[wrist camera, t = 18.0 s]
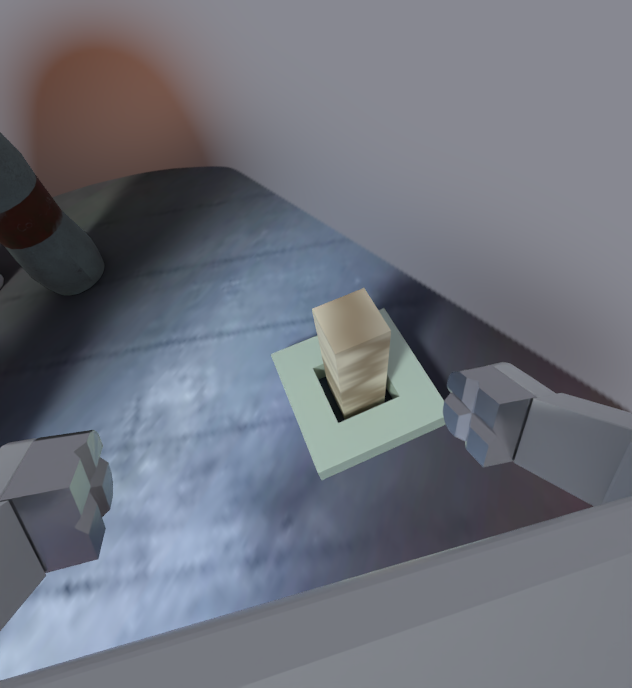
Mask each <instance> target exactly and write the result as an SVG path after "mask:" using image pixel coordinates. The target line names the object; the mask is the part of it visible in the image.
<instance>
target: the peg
mask: <svg viewBox="0 0 632 688" xmlns="http://www.w3.org/2000/svg"><path fill="white" fill-rule="evenodd" d="M312 312H313V317H314V321H315V326H316V331H317V336H318V340H319V345H320V350H321V355H322V359H323V364H324V369H325V374H326V378H327V383H328V386H329V388H330V390H331V392H332V395H333V397H334V399H335V401H336V403H337V405H338V407H339V409H340V411H341V413H342V416H343V418H344V420H347V419H349V418H351V417H353V416H356V415H358V414H360V413H363V412H365V411H367V410H370V409H372V408H374V407H376V406H379V405H381V404H383V403H384V401H385V390H386V380H387V370H388V359H389V349H390V338H391V330H390V328H389V326H388V325H387V323H386V322H385V320H384V319H383V317H382V315H381V314H380V312H379V311H378V309H377V307H376V306H375V304H374V303H373V301H372V300H371V298H370V296H369V295H368V293H367V292H366V290H365V289H364V288H363V289H360V290H358V291H355V292H353V293H350V294H348V295H345V296H343V297H340V298H338V299H335V300H333V301H330V302H328V303H326V304H323V305H321V306H318V307H316V308H313V309H312Z"/></svg>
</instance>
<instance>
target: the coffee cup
mask: <svg viewBox="0 0 632 688" xmlns="http://www.w3.org/2000/svg"><path fill="white" fill-rule="evenodd" d="M3 280H4V278H3V277H2V275H1V274H0V289H1V287H2V286H3Z"/></svg>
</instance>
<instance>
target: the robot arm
mask: <svg viewBox="0 0 632 688" xmlns="http://www.w3.org/2000/svg"><path fill="white" fill-rule="evenodd" d="M447 388H448V389H449V391H450V394H449V396H448V397H447V398H446V399H445V401H444V405H443V416H444V421H445V424H446V426H447V428H448V429H449V431H450V432H451V433H452V434H453V435H454V436H455V437H457V438H459V439H461V440H464V441H466V449H467V450H468V452H469V453H470V454H471V455H472V456H473V457H474V458H475V459H476V460H477V461H478V462H479V463H480V464H481V465H482V467H487V466H492V465H496V464H501V463H506V462H511V461H514V463H515V464H517V465H519V466H521V467H523V468H525V469H526V470H528V471H530V472H532V473H534V474H536V475H537V476H539V477H541V478H543V479H545V480H547V481H548V482H550V483H552V484H554V485H556V486H558V487H559V488H561V489H563V490H565V491H567V492H569V493H570V494H572V495H574V496H576V497H578V498H580V499H582V500H583V501H585V502H587V503H589V504H591V505H593V506H594V507H591V508H588V509H585V510H581V511H578V512H574V513H571V514H567V515H564V516H561V517H557V518H554V519H550V520H547V521H544V522H540V523H537V524H533V525H530V526H527V527H523V528H520V529H516V530H513V531H510V532H506V533H503V534H499V535H496V536H493V537H489V538H486V539H483V540H479V541H476V542H472V543H469V544H466V545H462V546H459V547H455V548H452V549H449V550H445V551H442V552H438V553H435V554H431V555H428V556H425V557H421V558H418V559H414V560H411V561H407V562H404V563H401V564H397V565H394V566H390V567H387V568H384V569H380V570H377V571H373V572H370V573H366V574H363V575H360V576H356V577H353V578H349V579H346V580H342V581H339V582H336V583H332V584H329V585H325V586H322V587H319V588H315V589H312V590H308V591H305V592H301V593H298V594H295V595H291V596H288V597H284V598H281V599H278V600H274V601H271V602H267V603H264V604H260V605H257V606H254V607H250V608H247V609H243V610H240V611H237V612H233V613H230V614H226V615H223V616H220V617H216V618H213V619H209V620H206V621H202V622H199V623H196V624H192V625H189V626H185V627H182V628H179V629H175V630H172V631H168V632H165V633H161V634H158V635H155V636H151V637H148V638H144V639H141V640H138V641H134V642H131V643H127V644H124V645H121V646H117V647H114V648H110V649H107V650H103V651H100V652H97V653H93V654H90V655H86V656H83V657H80V658H76V659H73V660H69V661H66V662H63V663H59V664H56V665H52V666H49V667H45V668H42V669H39V670H35V671H32V672H28V673H25V674H22V675H18V676H15V677H11V678H8V679H5V680H1V681H0V688H632V413H629V412H626V411H622V410H619V409H616V408H612V407H609V406H605V405H602V404H598V403H595V402H591V401H588V400H584V399H581V398H577V397H574V396H571V395H567V394H564V393H559V394H556V393H554V392H553V391H551V390H550V389H548V388H547V387H545V386H544V385H542V384H541V383H539V382H538V381H536V380H535V379H533V378H532V377H530V376H529V375H527V374H526V373H524V372H522V371H521V370H519V369H518V368H516V367H515V366H513V365H512V364H510V363H505V362H502V363H497V364H492V365H487V366H484V367H478V368H472V369H467V370H461V371H455V372H452V373H451V375H450V376H449V378H448V383H447ZM102 447H103V445H102V442H101V439H100V437H99V434H98V433H97V432H96V431H95V430H90V431H83V432H76V433H69V434H62V435H55V436H48V437H41V438H38V439H35V438H34V439H28V440H22V441H16V442H9V443H7V444H5V445H3V446H2V447H1V448H0V631H1V629H2V628H3V627H4V626H5V625H6V623H7V622H8V621H9V620H10V619H11V617H12V616H13V615H14V614H15V613H16V611H17V610H18V609H19V608H20V607H21V605H22V604H23V603H24V602H25V601H26V599H27V598H28V597H29V596H30V594H31V593H32V592H33V591H34V590H35V588H36V587H37V586H38V585H39V584H40V582H41V581H42V580H43V579H44V578H45V576H46V574H45V573H48V572H51V571H55V570H59V569H63V568H66V567H70V566H74V565H78V564H82V563H85V562H89V561H93V560H97V559H98V558H99V554H100V549H101V545H102V541H103V537H104V533H105V529H106V528H105V525H104V522H103V519H102V517H103V516H104V515H105V514H106V513H107V512H108V511H109V510H110V507H111V502H112V498H113V480H112V474H111V470H110V466H109V463H108V462H106V461H105V460H103V459H102V458H100V454H101V451H102Z"/></svg>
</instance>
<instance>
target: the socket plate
mask: <svg viewBox="0 0 632 688" xmlns="http://www.w3.org/2000/svg"><path fill="white" fill-rule="evenodd" d="M378 311H379V312H380V314H381V315H382V317H383V319H384V320H385V322H386V323H387V325H388V326H389V328H390V330H391V338H390V349H389V359H388V370H387V380H386V388H387V390H388V392H389V393H390V395H391V397H392V400H390V401H388V402H386V403H383V404H381V405H379V406H376V407H374V408H372V409H370V410H367V411H365V412H363V413H360V414H358V415H356V416H353V417H351V418H349V419H347V420H344V421H342V422H340V423H338V422H337V420H336V417H335V415H334V413H333V411H332V409H331V407H330V404H329V402H328V400H327V398H326V396H325V393H324V391H323V389H322V387H321V385H320V383H319V379H321V378H323V377H326V374H325V369H324V364H323V359H322V355H321V350H320V345H319V340H318V336H315V337H312V338H310V339H307V340H305V341H302V342H300V343H298V344H295V345H293V346H290V347H288V348H285V349H283V350H280V351H278V352H275V353H273V354H271V356H272V359H273V361H274V364H275V366H276V369H277V371H278V374H279V376H280V379H281V381H282V384H283V386H284V389H285V391H286V394H287V396H288V399H289V401H290V404H291V407H292V409H293V412H294V414H295V417H296V419H297V422H298V424H299V427H300V429H301V432H302V434H303V437H304V439H305V442H306V444H307V447H308V449H309V452H310V454H311V457H312V459H313V462H314V464H315V467H316V469H317V472H318V474H319V476H320V478H321V480H324V479H326V478H328V477H330V476H332V475H335V474H337V473H339V472H341V471H343V470H346V469H348V468H350V467H352V466H355V465H357V464H359V463H361V462H363V461H366V460H368V459H370V458H372V457H374V456H377V455H379V454H381V453H383V452H386V451H388V450H390V449H392V448H394V447H397V446H399V445H401V444H403V443H406V442H408V441H410V440H412V439H414V438H417V437H419V436H421V435H423V434H425V433H428V432H430V431H432V430H434V429H437V428H439V427H441V426H443V425H445V421H444V416H443V405H444V400H443V399H442V397H441V395H440V394H439V392H438V391H437V389H436V388H435V386H434V385H433V383H432V382H431V380H430V378H429V377H428V375H427V374H426V372H425V371H424V369H423V368H422V366H421V364H420V363H419V361H418V360H417V358H416V357H415V355H414V354H413V352H412V351H411V349H410V347H409V346H408V344H407V343H406V341H405V340H404V338H403V337H402V335H401V333H400V332H399V330H398V329H397V327H396V326H395V324H394V323H393V321H392V320H391V318H390V316H389V315H388V313H387V312H386V310H385V309H384V308H383V309H381V310H378Z"/></svg>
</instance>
